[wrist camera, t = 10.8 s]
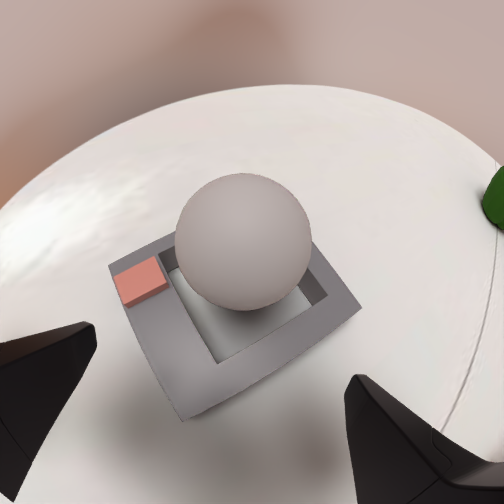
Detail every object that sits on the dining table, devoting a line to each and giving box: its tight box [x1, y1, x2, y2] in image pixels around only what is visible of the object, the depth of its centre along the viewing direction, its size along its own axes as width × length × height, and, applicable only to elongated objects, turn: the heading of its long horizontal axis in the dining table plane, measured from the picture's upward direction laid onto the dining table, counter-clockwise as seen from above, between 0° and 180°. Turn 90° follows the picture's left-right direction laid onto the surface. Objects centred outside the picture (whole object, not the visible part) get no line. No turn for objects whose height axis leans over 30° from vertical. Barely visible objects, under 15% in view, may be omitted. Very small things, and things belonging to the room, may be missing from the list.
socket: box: [108, 231, 362, 422], centre depth 17 cm, size 11×13×4 cm
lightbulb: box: [175, 173, 312, 310], centre depth 14 cm, size 6×6×11 cm
